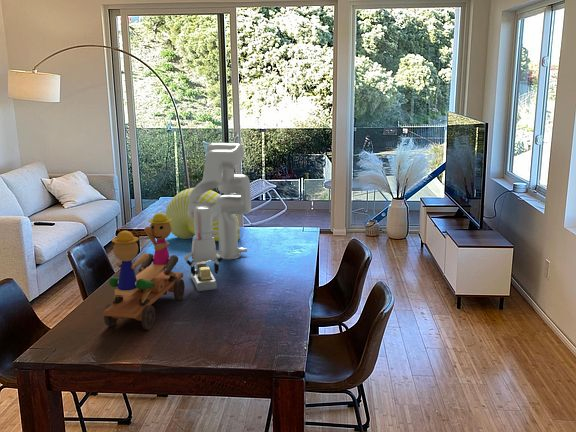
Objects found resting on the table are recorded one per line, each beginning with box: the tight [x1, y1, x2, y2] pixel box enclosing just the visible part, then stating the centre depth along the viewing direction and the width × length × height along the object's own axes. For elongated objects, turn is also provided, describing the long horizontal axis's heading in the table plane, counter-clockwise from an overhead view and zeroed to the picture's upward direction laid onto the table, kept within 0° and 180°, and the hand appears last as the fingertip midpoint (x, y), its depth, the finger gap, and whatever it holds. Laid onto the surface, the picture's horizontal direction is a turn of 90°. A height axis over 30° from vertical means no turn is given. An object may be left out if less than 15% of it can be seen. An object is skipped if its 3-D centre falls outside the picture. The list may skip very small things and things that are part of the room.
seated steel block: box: [195, 262, 207, 275], centre depth 256 cm, size 4×4×8 cm
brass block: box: [199, 266, 211, 281], centre depth 247 cm, size 4×4×8 cm
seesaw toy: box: [102, 212, 185, 331], centre depth 217 cm, size 45×16×36 cm, turn 169°
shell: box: [165, 187, 241, 243], centre depth 322 cm, size 44×31×30 cm
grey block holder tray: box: [190, 268, 218, 292], centre depth 252 cm, size 8×19×4 cm, turn 18°
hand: (204, 273), depth 247 cm, fingers open, 9 cm apart
